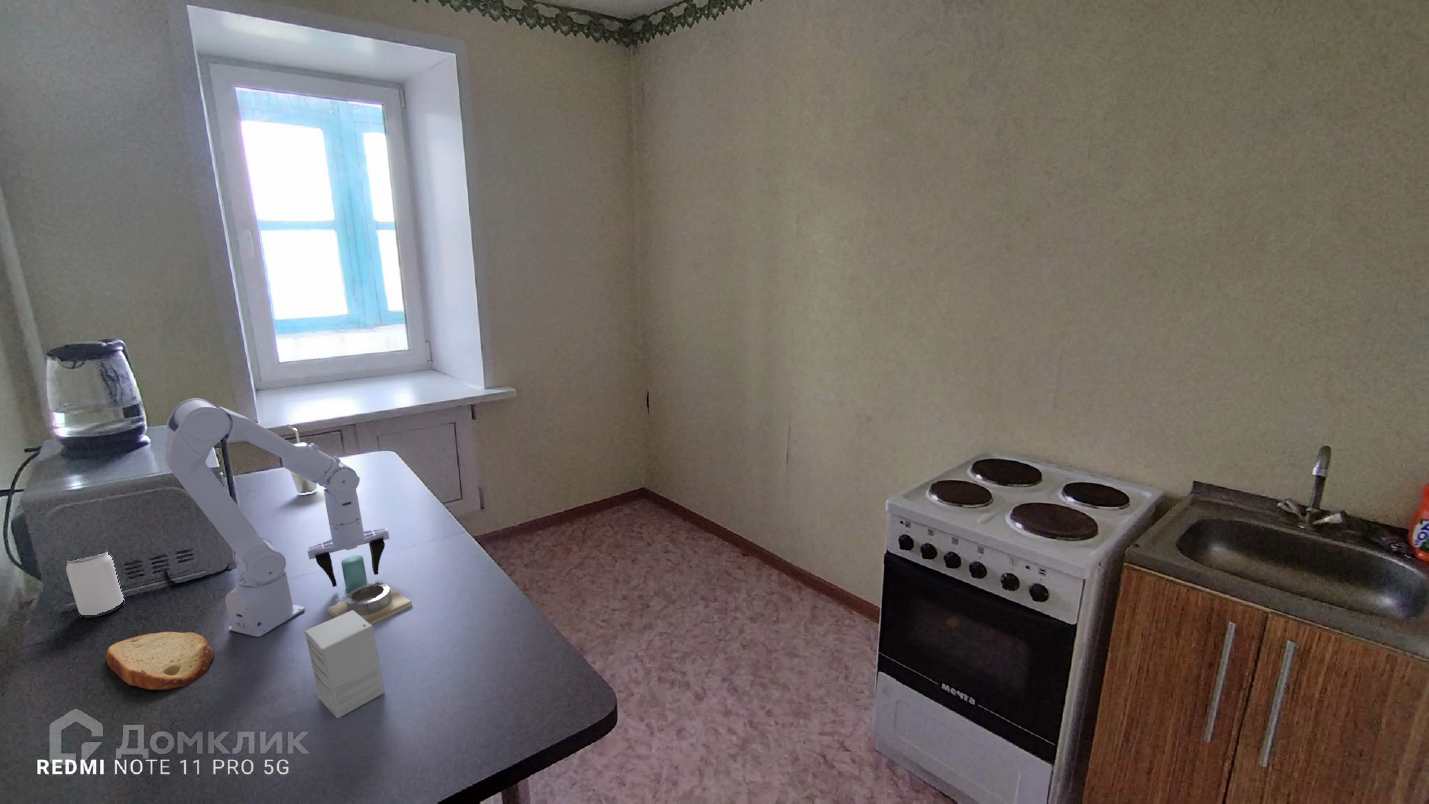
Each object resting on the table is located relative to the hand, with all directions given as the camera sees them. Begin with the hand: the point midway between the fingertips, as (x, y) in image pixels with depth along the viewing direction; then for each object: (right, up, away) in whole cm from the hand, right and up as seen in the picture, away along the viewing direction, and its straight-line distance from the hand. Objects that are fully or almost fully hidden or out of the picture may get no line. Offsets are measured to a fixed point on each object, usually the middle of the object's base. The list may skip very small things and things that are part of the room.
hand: (355, 578), depth 130 cm
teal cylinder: (0, -2, 0) cm, 2 cm away
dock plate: (+8, -4, -8) cm, 12 cm away
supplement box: (+18, -10, -32) cm, 38 cm away
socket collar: (+8, -4, -8) cm, 12 cm away
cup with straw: (-43, +11, +49) cm, 66 cm away
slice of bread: (-21, -9, -24) cm, 33 cm away
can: (-46, -4, -8) cm, 47 cm away
